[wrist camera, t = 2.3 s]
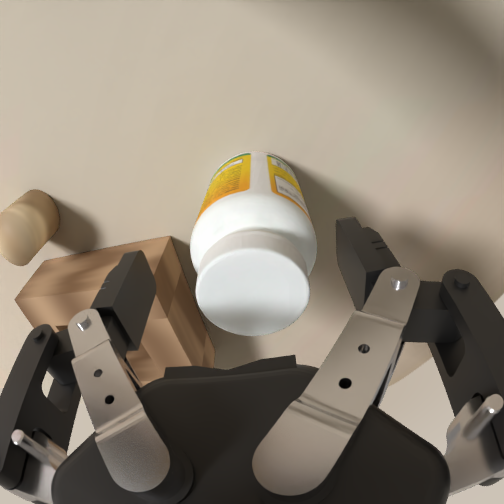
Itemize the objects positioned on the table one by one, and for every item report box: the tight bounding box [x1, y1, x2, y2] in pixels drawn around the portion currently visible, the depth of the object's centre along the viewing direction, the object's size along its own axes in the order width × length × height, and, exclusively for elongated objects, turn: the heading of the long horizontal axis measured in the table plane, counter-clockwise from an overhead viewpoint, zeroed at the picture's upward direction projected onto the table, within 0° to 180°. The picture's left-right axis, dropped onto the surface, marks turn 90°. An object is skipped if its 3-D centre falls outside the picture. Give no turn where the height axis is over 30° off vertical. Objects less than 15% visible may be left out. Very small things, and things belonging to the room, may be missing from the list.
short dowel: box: [0, 189, 60, 266], centre depth 17 cm, size 4×4×4 cm
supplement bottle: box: [190, 151, 317, 336], centre depth 15 cm, size 5×5×10 cm
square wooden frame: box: [15, 236, 215, 386], centre depth 22 cm, size 12×12×5 cm
